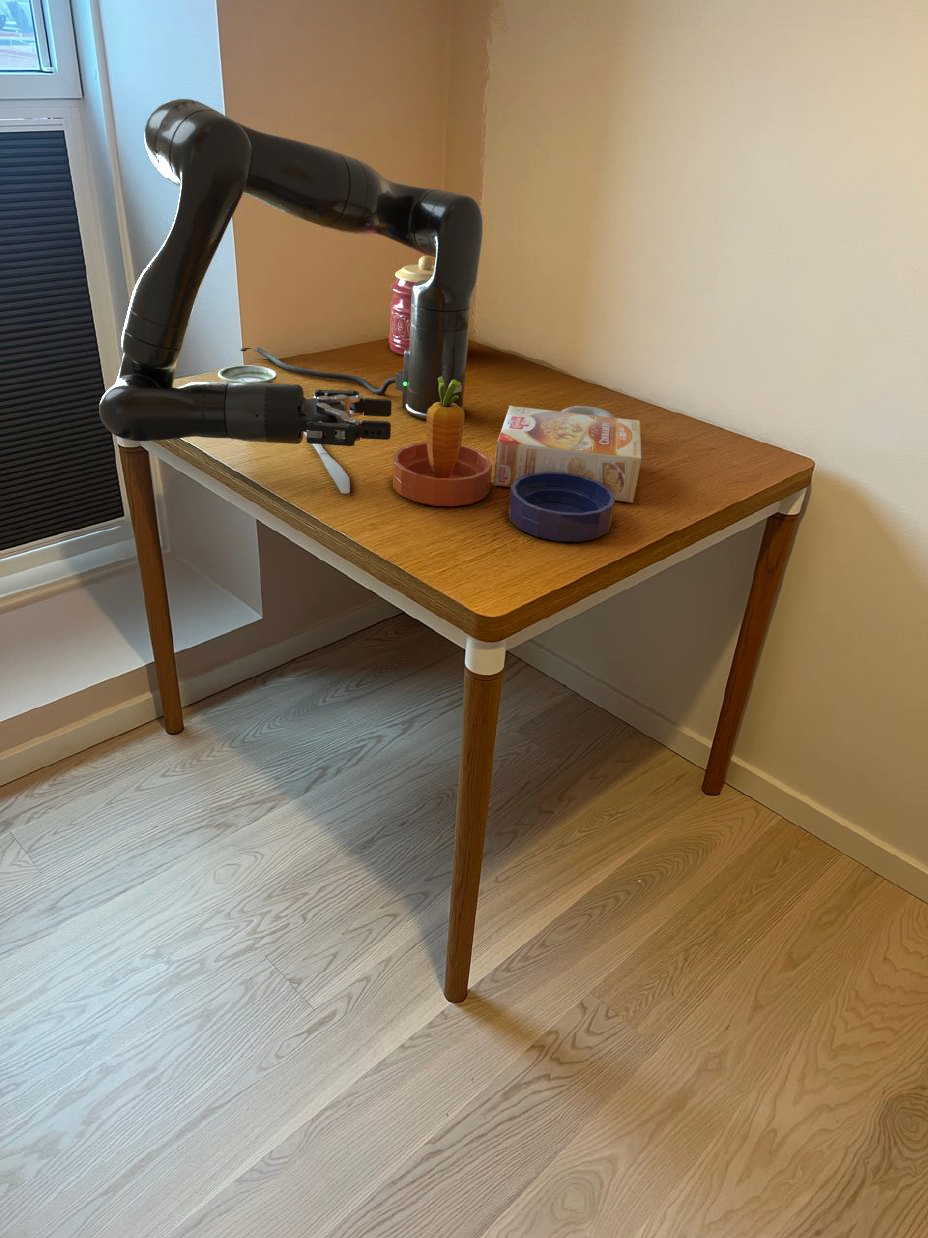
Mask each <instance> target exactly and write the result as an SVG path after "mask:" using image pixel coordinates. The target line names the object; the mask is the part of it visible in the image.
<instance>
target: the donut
mask: <svg viewBox="0 0 928 1238" xmlns="http://www.w3.org/2000/svg"><path fill="white" fill-rule="evenodd" d="M560 412H567V413H576V414H584V415H593V416H602V417H610V418H616V416H615V415H614V414H612V413H611V412H609V411H607V410H606V409H602V408H599V407H594V406H586V405H575V406H568V407H567V408H564V409H562V410H561V411H560Z"/></svg>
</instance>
